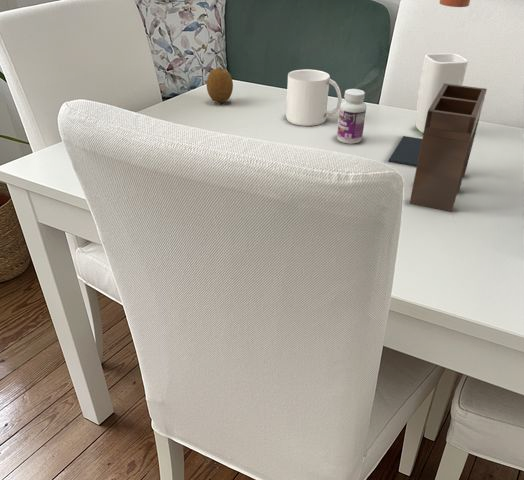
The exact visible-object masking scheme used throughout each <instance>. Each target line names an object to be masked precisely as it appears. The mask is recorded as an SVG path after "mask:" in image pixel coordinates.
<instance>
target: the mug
mask: <svg viewBox="0 0 524 480" xmlns="http://www.w3.org/2000/svg"><path fill="white" fill-rule="evenodd" d="M330 85H331V86H333V88H334V89H335V92H336V97H337V104H336V107H335V108H334V109H333V110H328V102H329V89H330ZM342 102H343V98H342V92H341V89H340V87H339V85H338V83H337V82H336V81H335V80H333V79H331V77H330V74H329V73H328V72H326V71H323V70H319V69H318V70H317V69H307V68H305V69H295V70H292V71H289V72H288V73H287V88H286V109H285V110H286V113H285V118H286V120H287V121H288V122H289V123H290V124H293V125H296V126H301V127H314V126H319V125H321V124H323V123H325V121H326V120H327V116H334V115H335V114H337V112H339V111H340V105H341V103H342Z"/></svg>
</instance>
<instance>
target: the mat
mask: <svg viewBox="0 0 524 480" xmlns="http://www.w3.org/2000/svg"><path fill="white" fill-rule="evenodd" d="M421 143H422V138H419V137H412V136H406V135H403V136H402V138H401V139H400V141H399V142H398V144H397V146H396V147H395V149H394V151H392V153H391V155H390V157H389V158H388V163H394V164H400V165H405V166H406V165H407V166H412V167H417V163H418V158H419V153H420V148H421Z"/></svg>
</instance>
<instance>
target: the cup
mask: <svg viewBox="0 0 524 480" xmlns="http://www.w3.org/2000/svg"><path fill="white" fill-rule="evenodd" d="M468 63H469V61H468V59H466V58H464V57H463V56H461V55H460V54H458V53H454V52H441V53H440V52H434V53H433V52H432V53H431V52H430V53H426V54H425V55H424V58H423V63H422V69H421V72H420V78H419V79H420V80H419V86H418V94H417V102H416V114H415V127H416V129H417V130H418V131H419V132H420V133H421V134H422V135H423V133H424V128H425V123H426V118H427V113H428V110H429V108H430V106H431V105H432V103H433V101H434V100H435V98H436V96H437V95H438V93H439V91H440V90H441V88H442V86H443V85H444V83H445V84H453V85H461V86H463V83H464V80H465V75H466V71H467V67H468Z"/></svg>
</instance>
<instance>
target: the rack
mask: <svg viewBox="0 0 524 480" xmlns="http://www.w3.org/2000/svg"><path fill="white" fill-rule="evenodd" d="M487 91H488V89H487V88H483V87H475V86H468V85H462V86H461V85H453V84H445V83H444V85H443V86H442V88H441V90H440V91H439V93H438V95H437V96H436V98H435V100H434V101H433V103H432V105H431V106H430V108H429V110H428V113H427V118H426V123H425V128H424V133H423V134H422V137H421V139H422V143H421V148H420V153H419V158H418V163H417V166H416V169H415V175H414V178H413V183H412V188H411V194H410V201H409V204H411V205H415V206H421V207H425V208H432V209H435V210H440V211H441V210H442V211H447V212H453V209H454V206H455V202H456V198H457V195H458V194H459V193H460V190H461V185H462V181H463V178H465V177H466V176H465V175H466V171H467V167H468V164H469V160H470V156H471V153H472V148H473V145H474V142H475V137H476V133H477V129H478V125H479V121H480V117H481V113H482V110H483V107H484V102H485V98H486V95H487Z"/></svg>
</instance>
